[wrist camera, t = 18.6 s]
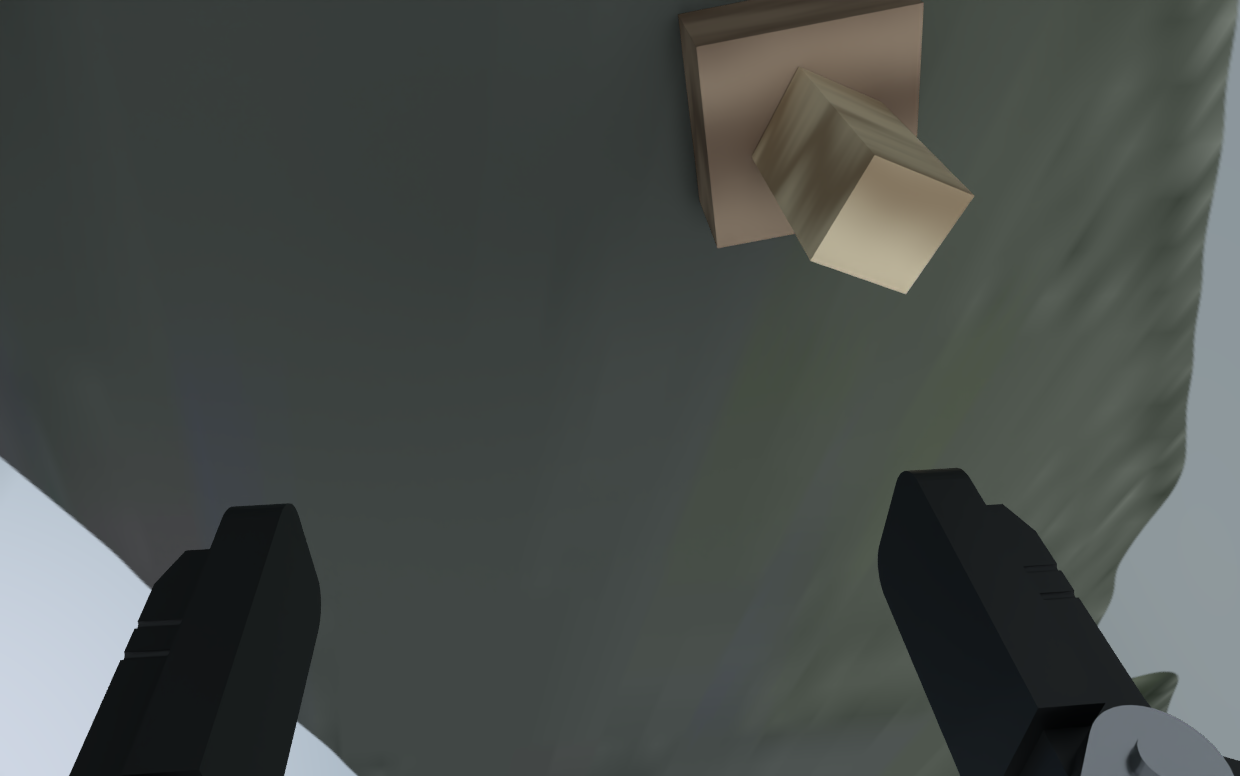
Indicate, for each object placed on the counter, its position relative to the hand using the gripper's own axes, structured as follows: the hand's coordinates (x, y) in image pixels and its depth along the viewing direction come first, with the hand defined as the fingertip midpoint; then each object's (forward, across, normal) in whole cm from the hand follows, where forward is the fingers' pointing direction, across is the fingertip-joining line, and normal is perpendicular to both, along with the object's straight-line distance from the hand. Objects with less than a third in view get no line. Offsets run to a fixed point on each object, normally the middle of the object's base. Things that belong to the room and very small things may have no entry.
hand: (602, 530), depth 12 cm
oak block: (+30, -12, +6) cm, 33 cm away
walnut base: (+36, -12, +6) cm, 39 cm away
